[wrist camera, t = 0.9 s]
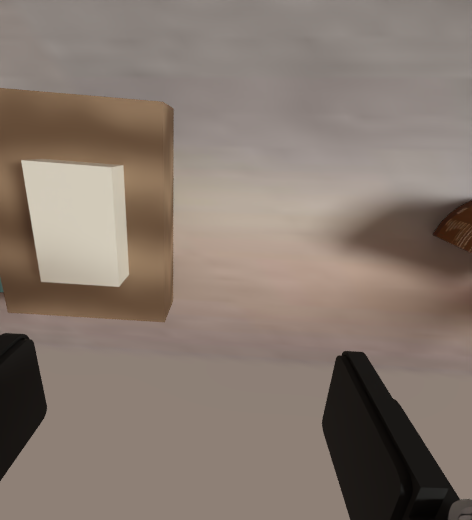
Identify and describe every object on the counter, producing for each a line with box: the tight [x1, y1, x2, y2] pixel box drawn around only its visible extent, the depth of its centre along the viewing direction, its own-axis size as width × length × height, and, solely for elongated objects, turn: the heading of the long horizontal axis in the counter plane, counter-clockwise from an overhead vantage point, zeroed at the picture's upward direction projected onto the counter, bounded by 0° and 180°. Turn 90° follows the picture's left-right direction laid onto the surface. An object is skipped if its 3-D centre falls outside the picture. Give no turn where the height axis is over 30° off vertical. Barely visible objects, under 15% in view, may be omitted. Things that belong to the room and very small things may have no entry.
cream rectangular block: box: [21, 159, 129, 287], centre depth 23 cm, size 9×6×2 cm, turn 176°
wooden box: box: [0, 88, 173, 322], centre depth 26 cm, size 18×14×4 cm
